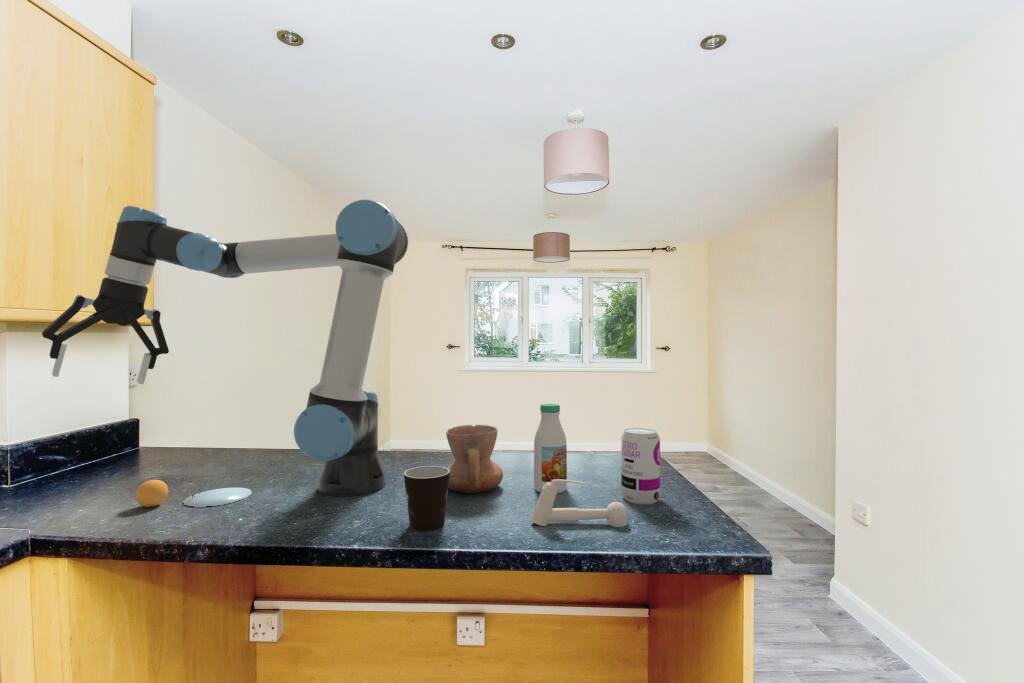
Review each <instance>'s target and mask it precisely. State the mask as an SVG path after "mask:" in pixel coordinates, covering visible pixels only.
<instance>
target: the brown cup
mask: <svg viewBox="0 0 1024 683" xmlns="http://www.w3.org/2000/svg"><path fill="white" fill-rule="evenodd" d="M449 474H450V470H449V469H448V468H447V467H445V466H439V465H424V466H423V465H422V466H421V465H420V466H415V467H412V468H409V469H406V470H405V471H404V472H403V478H404V480H403V481H404V487H405V496H406V503H407V513H408V520H409V521H408V522H409V527H410V529H411V530H414V531H417V532H431V531H436V530H438V529H441V528H443V526H444V525H445V519H446V508H447V502H448V501H447V499H448V493H449V492H448V491H449V488H448V483H449Z"/></svg>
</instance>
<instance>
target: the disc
mask: <svg viewBox="0 0 1024 683" xmlns="http://www.w3.org/2000/svg"><path fill="white" fill-rule="evenodd" d="M199 493H200V494H199ZM252 494H253V493H252V489H249V488H247V487H223V488H216V489H210V490H205V491H202V492H198V493H195V494H193V495H194V496H195V497H194V496H193V499H192V495H190V496H188V497H186V498H185V499H183V501H182V504H183V503H184V504H185V505H187V506H186V507H188V506H194V507H193V508H207V507H206V506H213V507H219V506H218V505H220V506H225V505H230V504H233V502H234V503H236V501H237V502H239V500H240V501H243V500H244V499H247V498H249V497H250V496H251V495H252ZM242 499H243V500H242ZM190 500H191V501H190ZM229 503H230V504H229ZM184 504H183V505H184ZM224 504H225V505H224ZM185 505H184V506H185Z"/></svg>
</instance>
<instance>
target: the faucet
mask: <svg viewBox="0 0 1024 683" xmlns="http://www.w3.org/2000/svg"><path fill="white" fill-rule="evenodd" d="M565 482H567V483H571V484H572V483H573V484H583V485H584V484H585V485H586V484H588V483H587V482H585V481H578V480H572V479H567V480H562V479H554V480H552V481H551V482H548V483H546V484H545V485H544V486H543V488H542V490H541V492H539V493H540V494H539V496H538V500H537V501H536V504H535V507H534V509H533V511H532V514H531V517H530V520H531V522H532V523H534V524H536V525H537V526H538V525H539V526H541V527H546V526H548V524H549V522H552V523H553V522H555V523H556V522H560V523H561V522H563V523H564V522H567V523H568V522H569V523H570V522H574V523H575V522H577V523H578V522H580V521H587V520H588V521H589V520H603V519H606V521H607V525H609V526H610V527H617V528H623V527H626V526H627V525H628V510H627V507H626V506H625V505H624V504H623V503H621V502H619V501H613V502H610V503H609V504H608V505H607V507H606V508H578V507H555V508H554V507H553V506H554V503H555V500H556V497H557V494H558V493H557V487H556V486H555V484H556V483H565Z"/></svg>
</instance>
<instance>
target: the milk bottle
mask: <svg viewBox="0 0 1024 683" xmlns="http://www.w3.org/2000/svg"><path fill="white" fill-rule="evenodd" d="M539 407H540V408H539V409H540V415H541V416H540V422H539V425H538V427H537V429H536V431H535V434H534V440H533V487H534V490H535V491H536V492H538V493H541V490H542V488H543V486H544V485H545V484H546V483H548V482H551V481H552V480H554V479H562V480H568V476H567V475H568V460H567V458H568V455H567V454H568V451H567V437H566V433H565V431H564V429H563V427H562V424H561V420H560V413H561V412H560V411H561V406H560V404H558V403H542V404H540V406H539ZM555 486H556V487H557V494H561V493H562V494H563V493H564V492H566V490H567V488H568V482H565V483H556V484H555Z"/></svg>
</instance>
